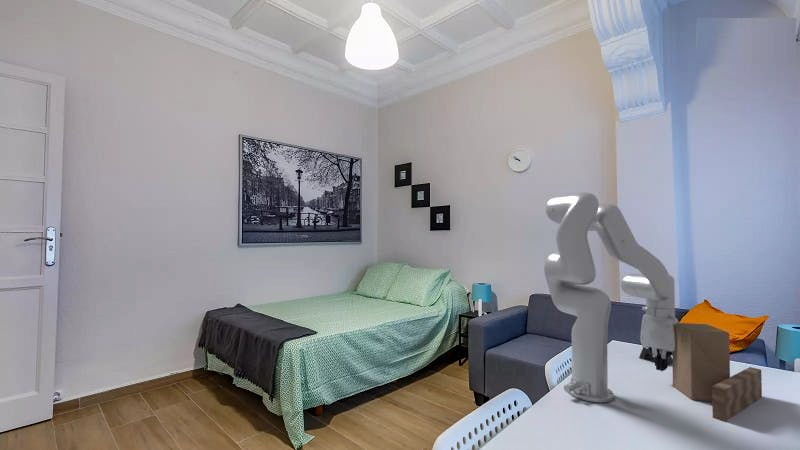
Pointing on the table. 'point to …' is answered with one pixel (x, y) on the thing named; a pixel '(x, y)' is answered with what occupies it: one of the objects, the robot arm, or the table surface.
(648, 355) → the phone stand
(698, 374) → the wooden block
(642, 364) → the table surface
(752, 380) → the walnut board
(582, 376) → the robot arm
